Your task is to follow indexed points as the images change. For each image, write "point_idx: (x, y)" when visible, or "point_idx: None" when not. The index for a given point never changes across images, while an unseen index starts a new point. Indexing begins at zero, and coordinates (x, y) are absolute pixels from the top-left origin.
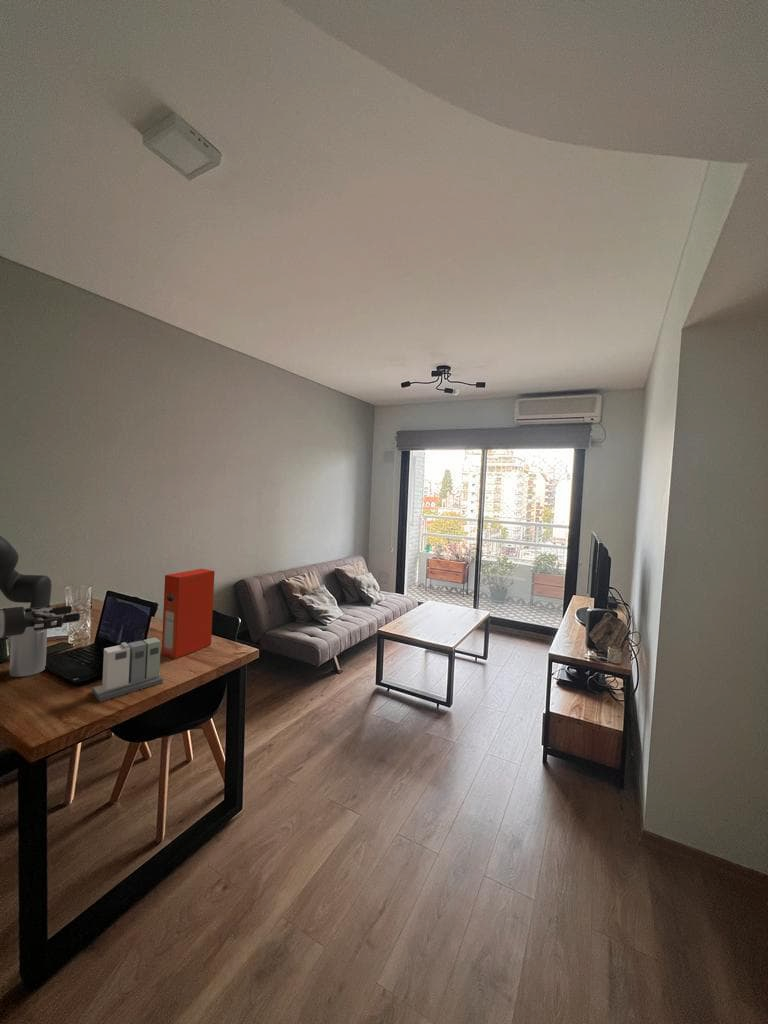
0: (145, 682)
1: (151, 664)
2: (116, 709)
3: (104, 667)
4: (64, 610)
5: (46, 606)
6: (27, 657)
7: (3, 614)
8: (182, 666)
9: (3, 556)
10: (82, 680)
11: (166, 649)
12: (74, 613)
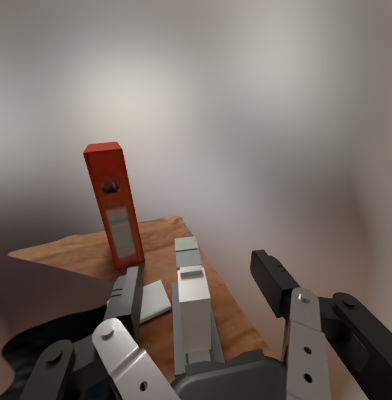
0: None
1: None
2: (262, 346)
3: (191, 327)
4: (139, 295)
5: (55, 367)
6: None
7: None
8: (170, 259)
9: None
10: (105, 395)
11: (124, 259)
12: (260, 258)
